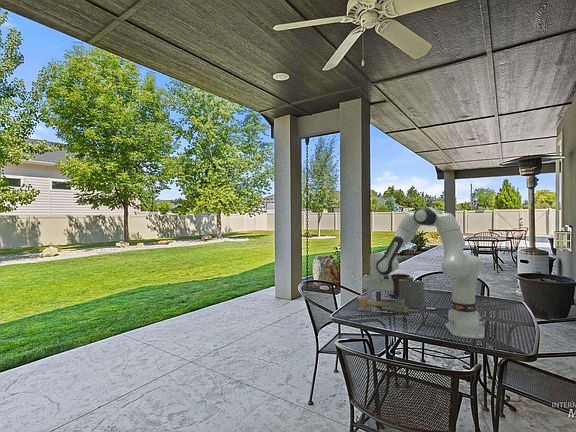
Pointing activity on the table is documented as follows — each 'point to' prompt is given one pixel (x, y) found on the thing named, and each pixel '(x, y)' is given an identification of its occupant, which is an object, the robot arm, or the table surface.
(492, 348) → the table surface
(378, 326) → the table surface
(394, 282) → the plant pot
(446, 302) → the table surface
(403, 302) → the sleeve stand
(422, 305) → the hip flask
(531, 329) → the table surface
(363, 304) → the socket block
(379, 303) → the slip tube
